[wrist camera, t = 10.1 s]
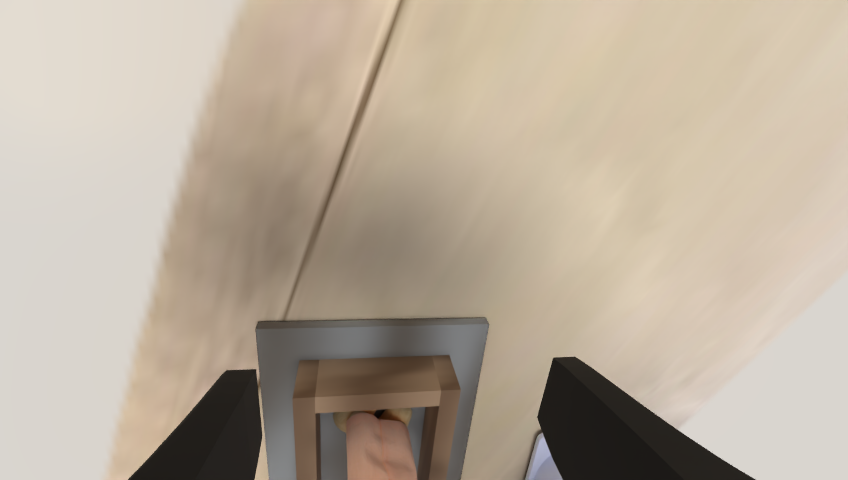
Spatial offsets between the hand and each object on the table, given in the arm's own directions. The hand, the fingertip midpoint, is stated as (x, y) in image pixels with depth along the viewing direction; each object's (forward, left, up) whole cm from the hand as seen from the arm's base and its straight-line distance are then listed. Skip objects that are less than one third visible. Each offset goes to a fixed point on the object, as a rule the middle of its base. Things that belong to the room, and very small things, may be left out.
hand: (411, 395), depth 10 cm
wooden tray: (0, +13, -10) cm, 17 cm away
